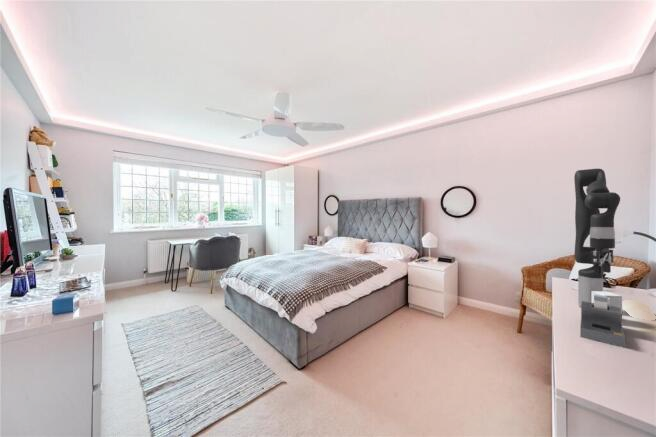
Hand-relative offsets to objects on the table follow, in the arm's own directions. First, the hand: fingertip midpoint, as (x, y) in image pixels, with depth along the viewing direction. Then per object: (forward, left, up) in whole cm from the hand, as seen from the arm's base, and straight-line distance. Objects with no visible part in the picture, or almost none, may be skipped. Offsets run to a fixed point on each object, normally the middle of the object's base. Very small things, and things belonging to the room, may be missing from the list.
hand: (602, 273), depth 110 cm
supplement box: (-15, -4, -25) cm, 30 cm away
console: (+5, +1, -25) cm, 25 cm away
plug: (-2, -1, -19) cm, 19 cm away
